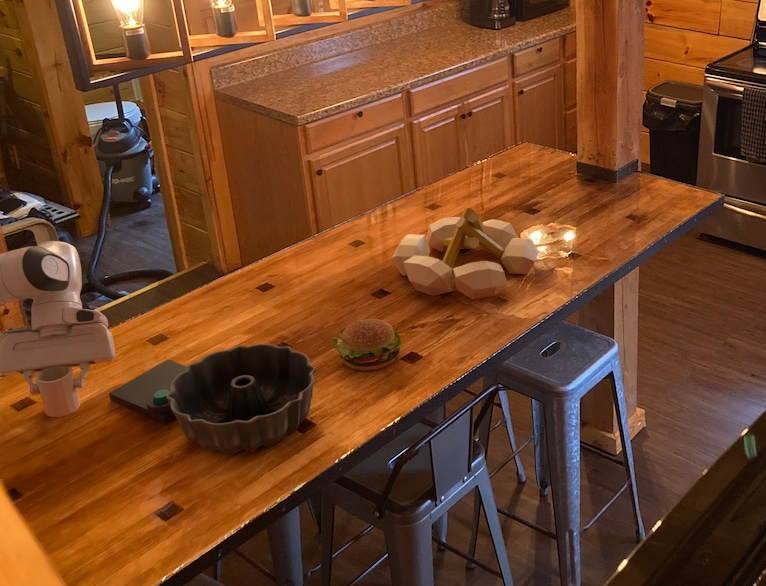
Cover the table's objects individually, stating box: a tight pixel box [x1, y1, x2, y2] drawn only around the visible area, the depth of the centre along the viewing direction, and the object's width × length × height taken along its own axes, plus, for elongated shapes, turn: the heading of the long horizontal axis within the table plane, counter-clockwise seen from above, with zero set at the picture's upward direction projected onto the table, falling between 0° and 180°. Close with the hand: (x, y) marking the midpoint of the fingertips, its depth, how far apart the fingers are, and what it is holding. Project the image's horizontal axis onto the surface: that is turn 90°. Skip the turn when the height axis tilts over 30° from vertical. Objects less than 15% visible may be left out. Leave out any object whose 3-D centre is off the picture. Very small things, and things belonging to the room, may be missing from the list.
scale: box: [108, 359, 187, 425], centre depth 190 cm, size 16×14×4 cm
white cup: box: [34, 365, 82, 418], centre depth 185 cm, size 6×6×8 cm
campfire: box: [390, 207, 539, 301], centre depth 238 cm, size 35×34×17 cm
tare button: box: [154, 390, 169, 404], centre depth 183 cm, size 3×3×2 cm
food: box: [331, 318, 402, 372], centre depth 202 cm, size 14×14×8 cm
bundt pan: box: [166, 343, 317, 455], centre depth 180 cm, size 26×26×10 cm
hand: (57, 390), depth 184 cm, fingers closed on white cup, 6 cm apart
